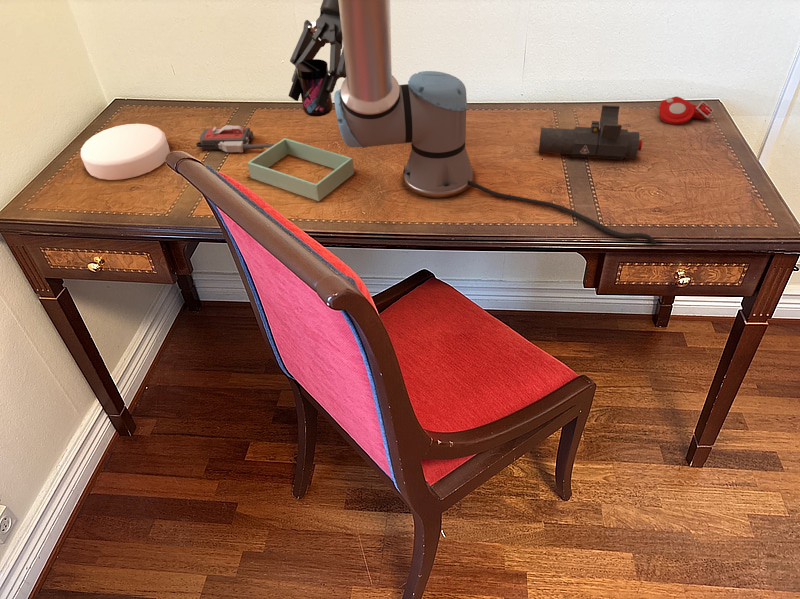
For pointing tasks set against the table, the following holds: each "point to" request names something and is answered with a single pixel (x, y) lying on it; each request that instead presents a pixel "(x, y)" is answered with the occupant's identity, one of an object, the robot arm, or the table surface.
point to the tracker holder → (682, 111)
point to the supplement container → (313, 86)
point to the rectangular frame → (296, 185)
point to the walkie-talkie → (228, 139)
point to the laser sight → (593, 139)
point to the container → (125, 151)
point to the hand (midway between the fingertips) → (306, 101)
